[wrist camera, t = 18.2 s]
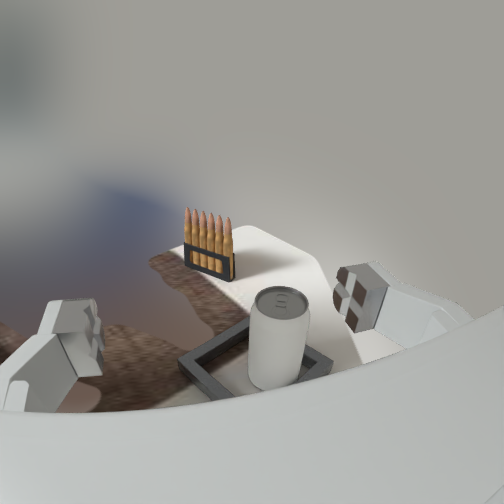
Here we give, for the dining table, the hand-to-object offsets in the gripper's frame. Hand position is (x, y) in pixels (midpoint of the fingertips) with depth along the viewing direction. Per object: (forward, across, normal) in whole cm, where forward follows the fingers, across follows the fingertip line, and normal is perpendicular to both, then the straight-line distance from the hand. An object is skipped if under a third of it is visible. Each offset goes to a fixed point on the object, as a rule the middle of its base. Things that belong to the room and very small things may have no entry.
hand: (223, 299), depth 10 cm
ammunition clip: (+42, -6, +26) cm, 50 cm away
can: (+16, -9, +26) cm, 32 cm away
